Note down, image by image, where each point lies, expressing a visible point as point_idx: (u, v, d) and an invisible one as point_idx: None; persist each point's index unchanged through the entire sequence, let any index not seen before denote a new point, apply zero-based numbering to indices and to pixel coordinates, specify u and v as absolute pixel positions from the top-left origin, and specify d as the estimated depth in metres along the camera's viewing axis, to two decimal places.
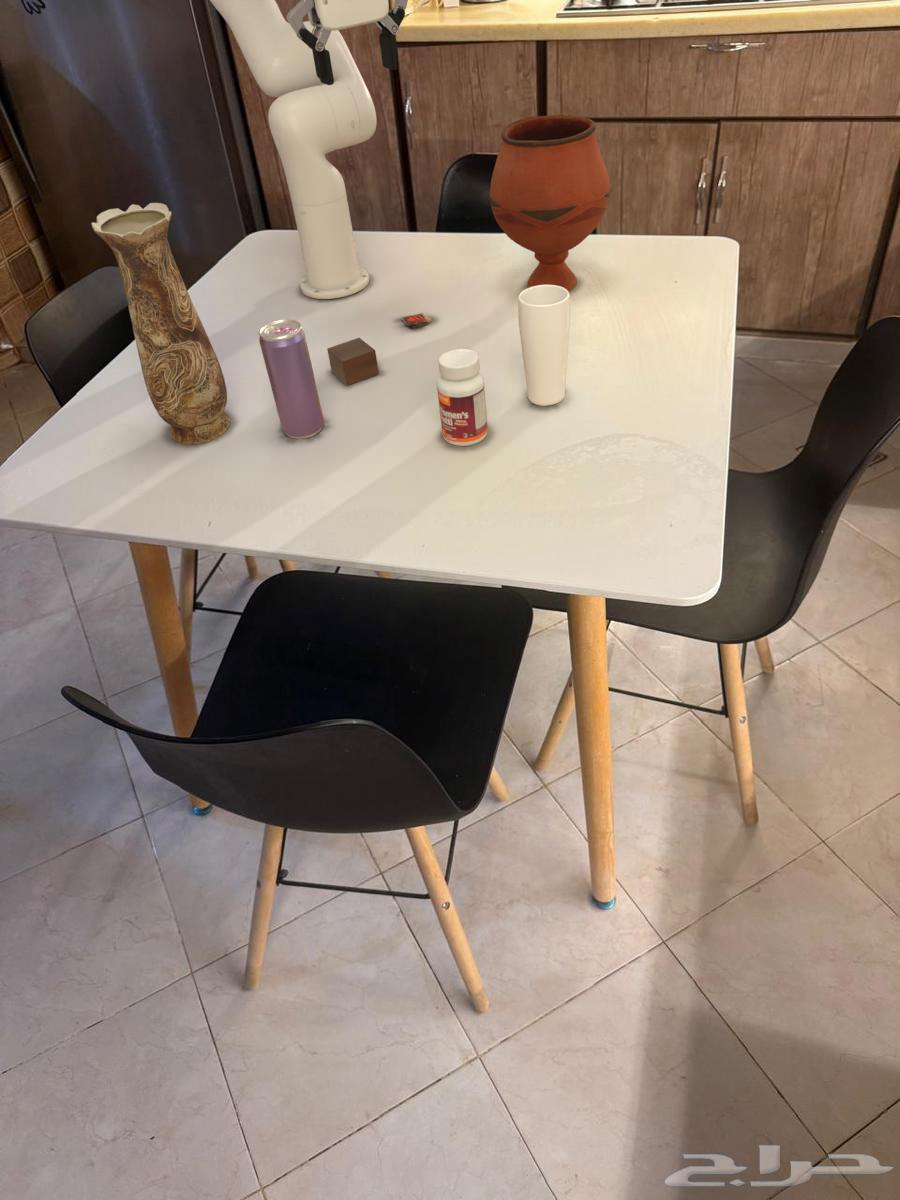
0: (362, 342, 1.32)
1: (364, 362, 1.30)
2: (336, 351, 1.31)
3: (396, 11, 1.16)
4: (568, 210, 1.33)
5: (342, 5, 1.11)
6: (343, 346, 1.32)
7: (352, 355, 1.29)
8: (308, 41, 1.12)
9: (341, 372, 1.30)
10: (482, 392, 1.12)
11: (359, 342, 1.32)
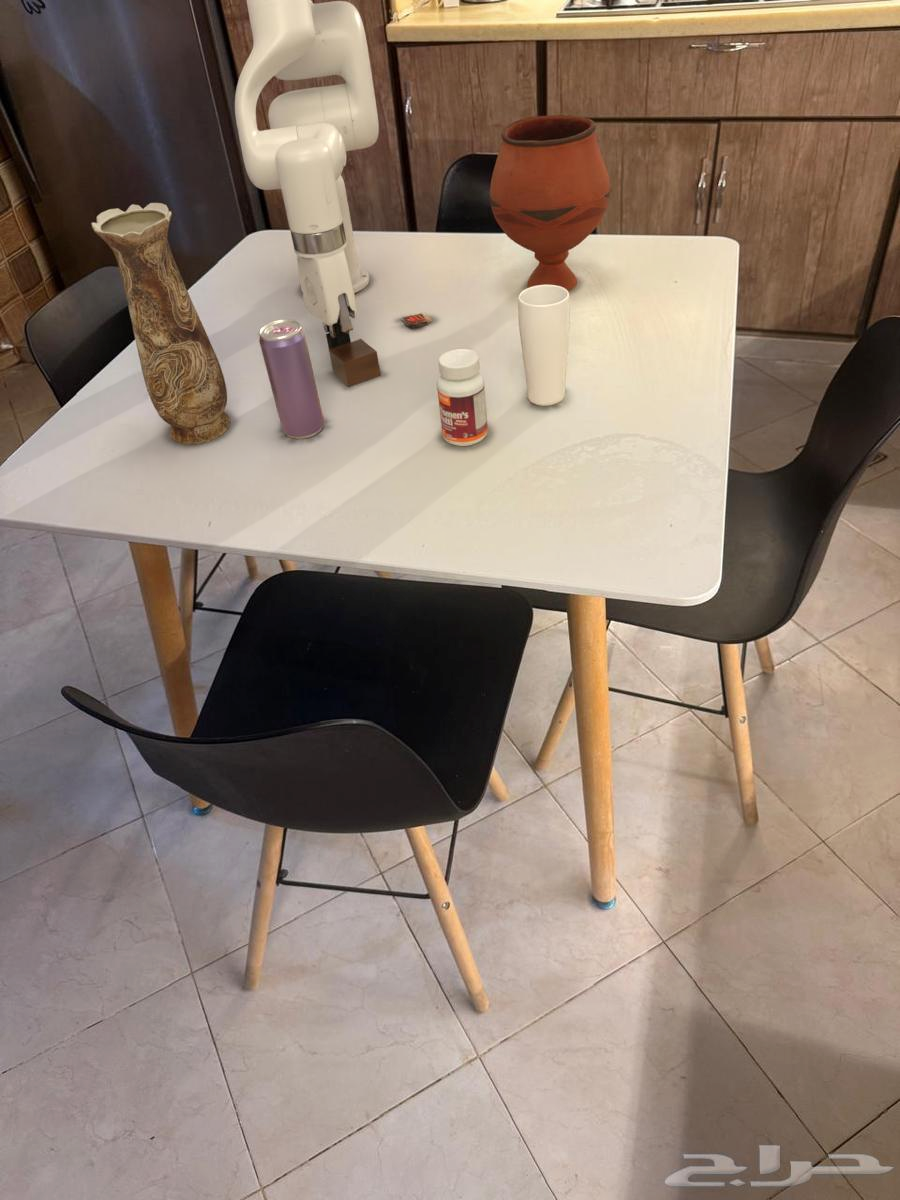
0: (364, 343, 1.32)
1: (365, 364, 1.30)
2: (337, 352, 1.30)
3: None
4: (568, 210, 1.33)
5: None
6: (345, 347, 1.31)
7: (353, 356, 1.29)
8: None
9: (343, 373, 1.30)
10: (482, 392, 1.12)
11: (361, 343, 1.32)
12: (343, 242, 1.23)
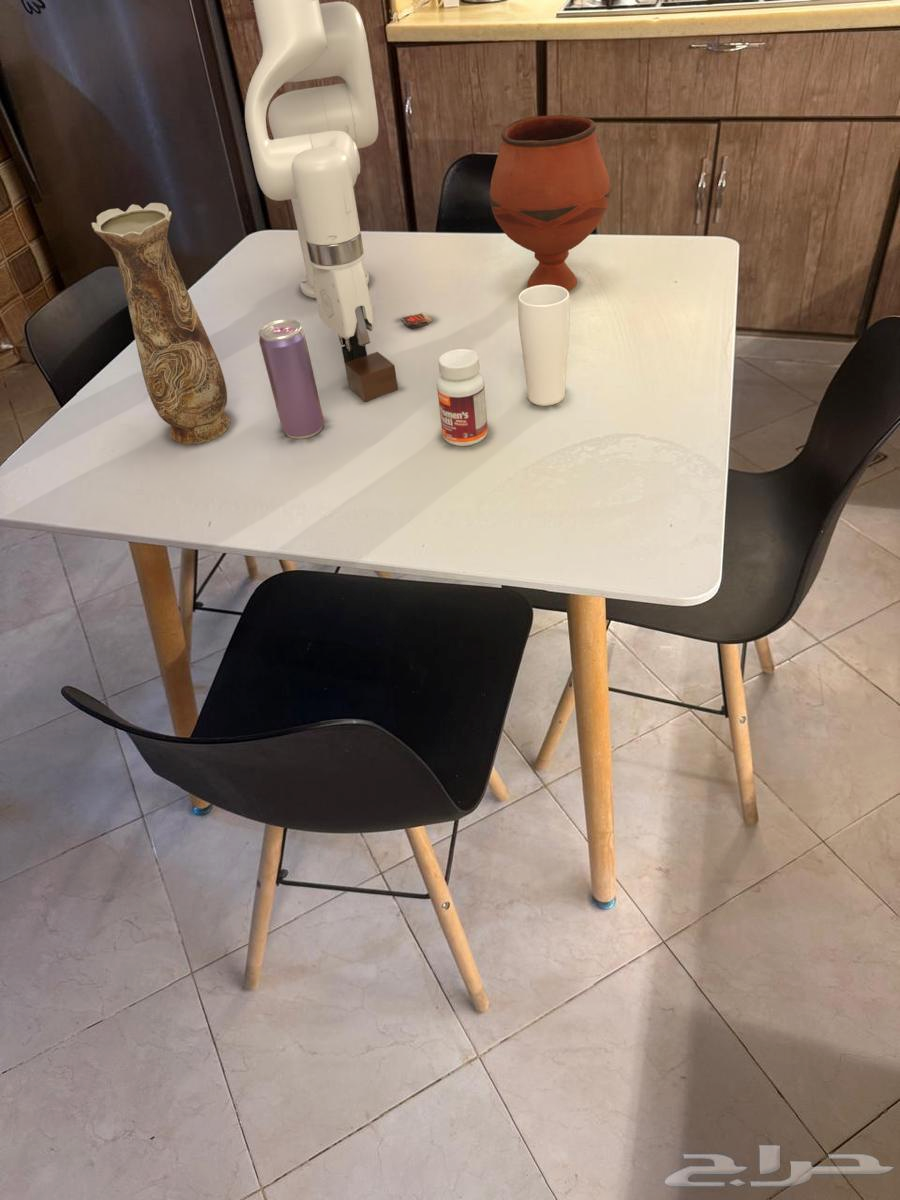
0: (380, 356, 1.28)
1: (382, 378, 1.26)
2: (354, 366, 1.27)
3: None
4: (568, 210, 1.33)
5: None
6: (361, 361, 1.28)
7: (370, 370, 1.25)
8: None
9: (359, 388, 1.26)
10: (482, 392, 1.12)
11: (377, 356, 1.28)
12: (361, 253, 1.19)
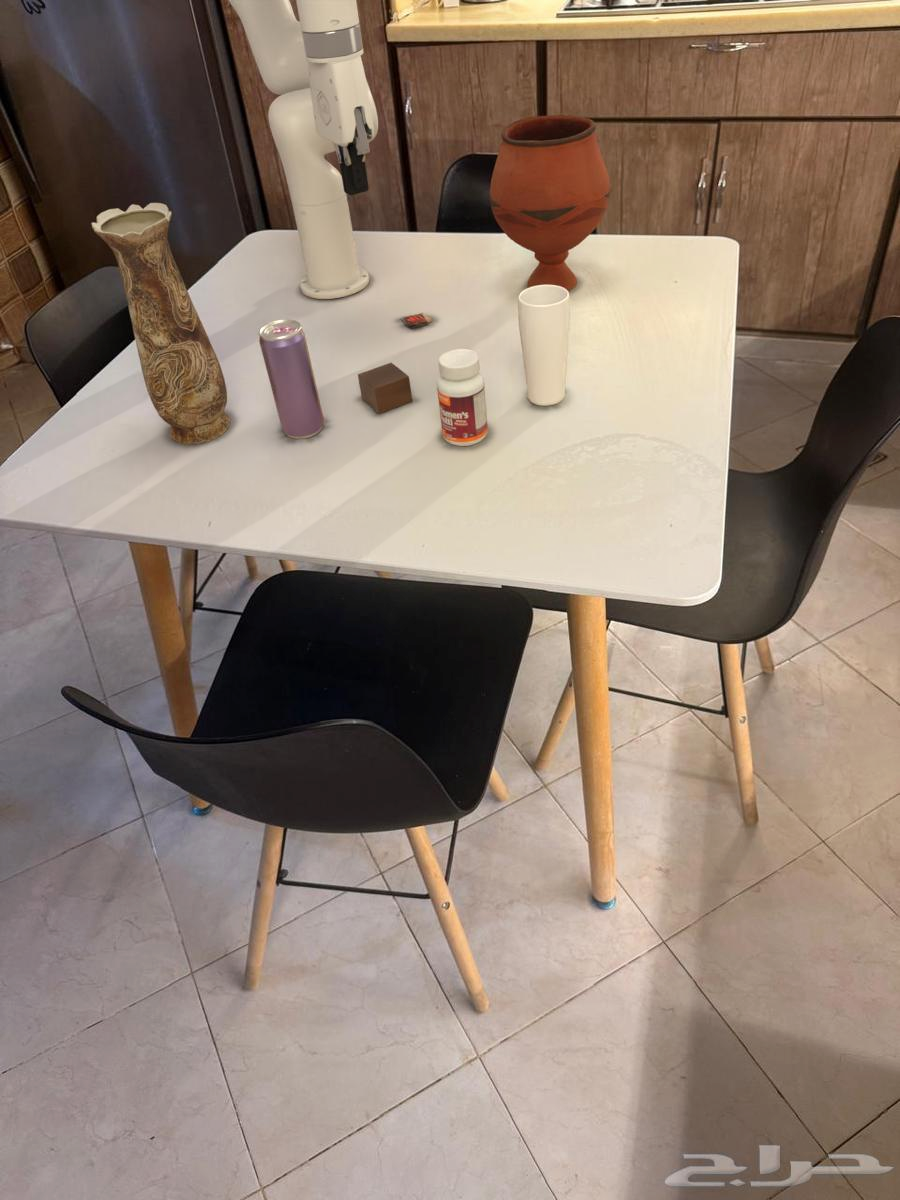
0: (395, 368, 1.25)
1: (397, 389, 1.23)
2: (367, 377, 1.24)
3: None
4: (568, 210, 1.33)
5: None
6: (374, 372, 1.25)
7: (384, 381, 1.22)
8: (363, 154, 1.20)
9: (373, 400, 1.23)
10: (482, 392, 1.12)
11: (391, 368, 1.25)
12: (360, 47, 1.12)
